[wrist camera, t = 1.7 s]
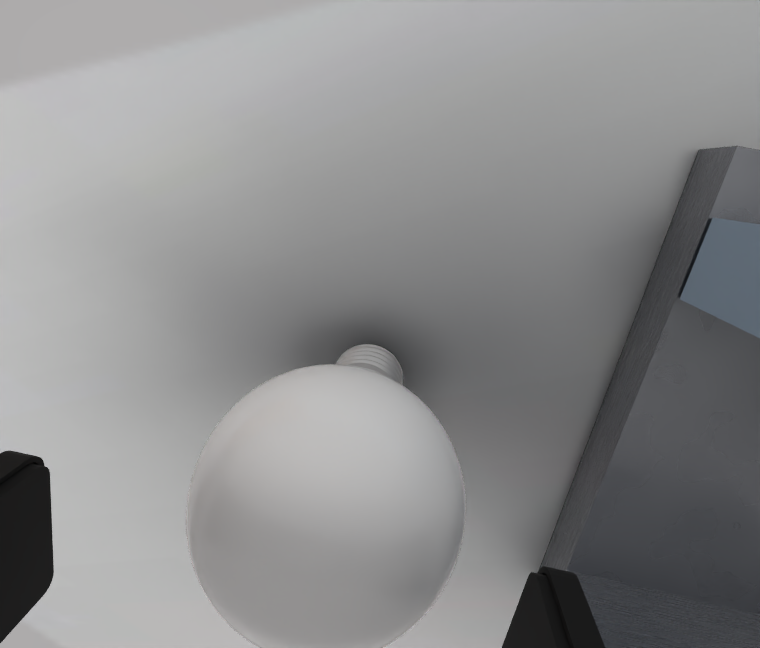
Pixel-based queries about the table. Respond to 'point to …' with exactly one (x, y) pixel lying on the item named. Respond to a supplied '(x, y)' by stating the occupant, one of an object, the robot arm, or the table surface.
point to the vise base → (676, 453)
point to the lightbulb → (327, 507)
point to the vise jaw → (728, 274)
